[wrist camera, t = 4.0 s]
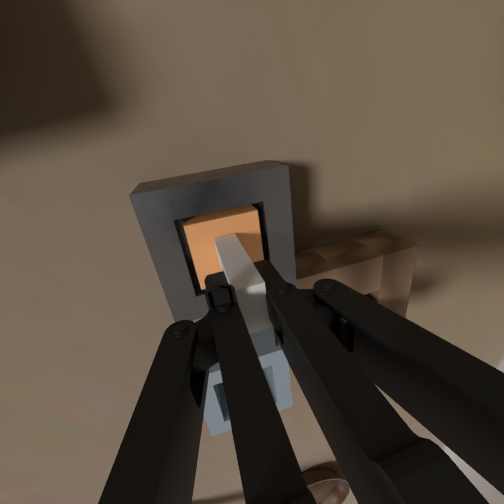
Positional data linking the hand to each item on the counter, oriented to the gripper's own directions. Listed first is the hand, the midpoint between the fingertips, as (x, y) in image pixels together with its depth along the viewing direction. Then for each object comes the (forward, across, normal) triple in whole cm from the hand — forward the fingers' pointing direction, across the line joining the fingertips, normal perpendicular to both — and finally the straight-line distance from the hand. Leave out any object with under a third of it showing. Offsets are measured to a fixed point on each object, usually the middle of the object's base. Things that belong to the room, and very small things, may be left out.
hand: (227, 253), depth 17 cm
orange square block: (+4, 0, 0) cm, 4 cm away
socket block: (+5, +11, -10) cm, 16 cm away
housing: (+5, 0, 0) cm, 5 cm away
